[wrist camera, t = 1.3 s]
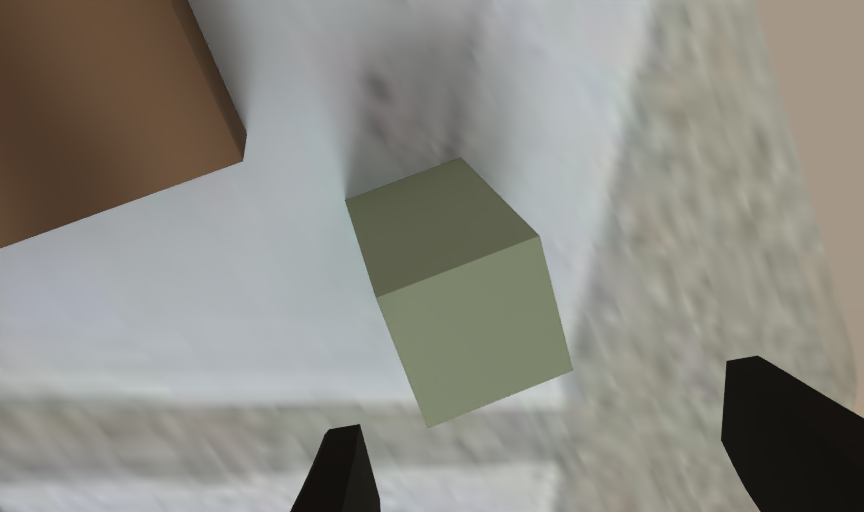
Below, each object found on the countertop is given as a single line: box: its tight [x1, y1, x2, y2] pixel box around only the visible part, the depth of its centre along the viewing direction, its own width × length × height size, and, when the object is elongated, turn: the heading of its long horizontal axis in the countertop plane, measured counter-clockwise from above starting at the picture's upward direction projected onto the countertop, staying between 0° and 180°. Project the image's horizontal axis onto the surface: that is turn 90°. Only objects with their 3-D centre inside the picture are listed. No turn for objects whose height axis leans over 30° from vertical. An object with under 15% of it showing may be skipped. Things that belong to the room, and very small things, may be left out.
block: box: [345, 158, 573, 428], centre depth 19 cm, size 4×4×7 cm
